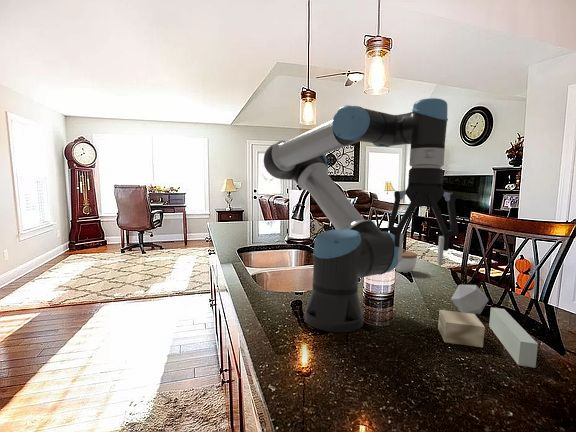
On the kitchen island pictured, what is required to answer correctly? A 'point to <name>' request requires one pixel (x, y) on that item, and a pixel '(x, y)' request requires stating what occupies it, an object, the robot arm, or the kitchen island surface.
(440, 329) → the beech block
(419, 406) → the kitchen island surface
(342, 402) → the kitchen island surface
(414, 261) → the lidded jar
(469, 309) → the grey faceted block
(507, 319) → the sage board
